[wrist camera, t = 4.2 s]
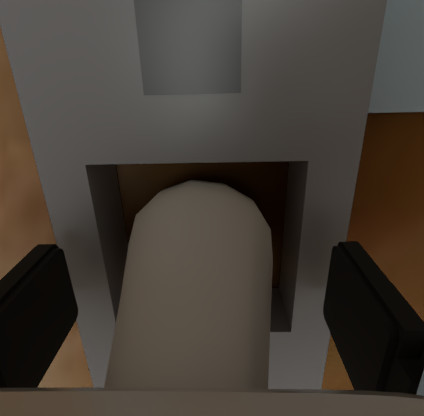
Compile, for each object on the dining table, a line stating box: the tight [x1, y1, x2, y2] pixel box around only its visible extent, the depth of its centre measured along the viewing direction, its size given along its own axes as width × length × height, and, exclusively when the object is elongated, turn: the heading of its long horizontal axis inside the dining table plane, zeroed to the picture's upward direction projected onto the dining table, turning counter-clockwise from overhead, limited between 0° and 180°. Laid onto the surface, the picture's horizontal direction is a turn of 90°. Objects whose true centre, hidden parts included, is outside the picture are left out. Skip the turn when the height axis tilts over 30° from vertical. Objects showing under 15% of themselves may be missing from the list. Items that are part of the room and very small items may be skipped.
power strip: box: [0, 0, 387, 389], centre depth 11 cm, size 26×11×4 cm, turn 1°
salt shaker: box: [104, 179, 273, 389], centre depth 9 cm, size 6×6×13 cm
